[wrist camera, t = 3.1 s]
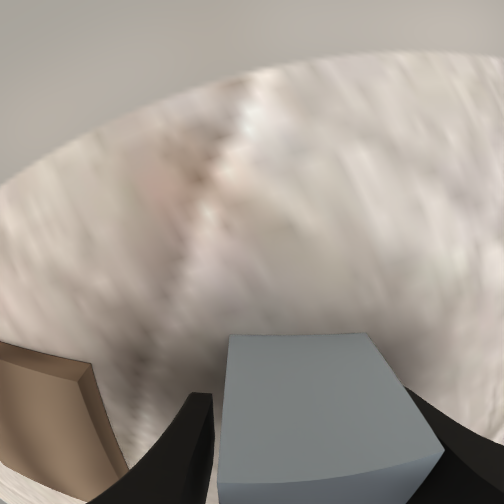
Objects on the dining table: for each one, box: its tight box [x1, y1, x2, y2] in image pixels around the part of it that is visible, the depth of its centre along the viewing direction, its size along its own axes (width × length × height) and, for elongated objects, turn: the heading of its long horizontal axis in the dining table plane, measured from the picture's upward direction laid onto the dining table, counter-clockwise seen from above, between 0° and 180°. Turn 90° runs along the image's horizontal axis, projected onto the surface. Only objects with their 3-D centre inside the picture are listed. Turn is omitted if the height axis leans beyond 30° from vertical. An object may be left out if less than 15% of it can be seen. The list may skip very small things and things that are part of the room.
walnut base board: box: [0, 342, 129, 502], centre depth 10 cm, size 11×11×1 cm
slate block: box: [217, 333, 445, 504], centre depth 7 cm, size 4×4×6 cm
